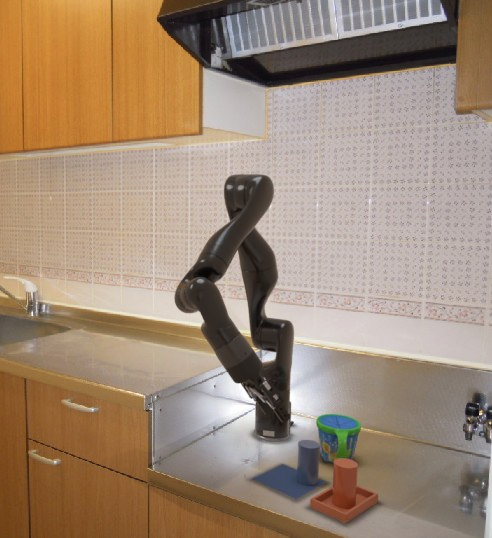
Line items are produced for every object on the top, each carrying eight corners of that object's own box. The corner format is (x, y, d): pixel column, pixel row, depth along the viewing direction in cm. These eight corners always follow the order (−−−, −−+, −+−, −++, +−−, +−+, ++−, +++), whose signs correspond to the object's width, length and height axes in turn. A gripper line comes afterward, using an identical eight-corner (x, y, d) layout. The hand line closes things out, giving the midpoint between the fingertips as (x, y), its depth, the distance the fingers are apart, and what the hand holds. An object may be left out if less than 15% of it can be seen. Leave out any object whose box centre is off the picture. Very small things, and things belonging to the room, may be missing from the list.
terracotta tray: (342, 488, 130) (343, 479, 130) (377, 502, 124) (378, 493, 123) (309, 508, 121) (310, 498, 121) (345, 524, 115) (346, 514, 115)
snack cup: (361, 476, 135) (363, 435, 134) (314, 470, 139) (316, 430, 138) (357, 450, 150) (358, 412, 149) (315, 445, 153) (316, 408, 152)
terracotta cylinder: (339, 495, 126) (341, 456, 125) (360, 503, 122) (362, 463, 121) (327, 502, 123) (329, 462, 122) (348, 511, 119) (350, 470, 118)
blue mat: (282, 465, 141) (282, 464, 141) (326, 483, 132) (326, 481, 132) (251, 479, 134) (252, 478, 134) (295, 500, 125) (295, 498, 125)
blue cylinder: (304, 474, 136) (305, 438, 135) (322, 481, 132) (323, 444, 131) (292, 480, 133) (293, 443, 132) (310, 488, 129) (312, 450, 128)
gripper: (263, 348, 119) (306, 411, 120) (238, 344, 133) (277, 401, 134) (235, 370, 118) (279, 433, 119) (213, 363, 132) (252, 420, 132)
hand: (278, 416), depth 126 cm, fingers open, 8 cm apart
